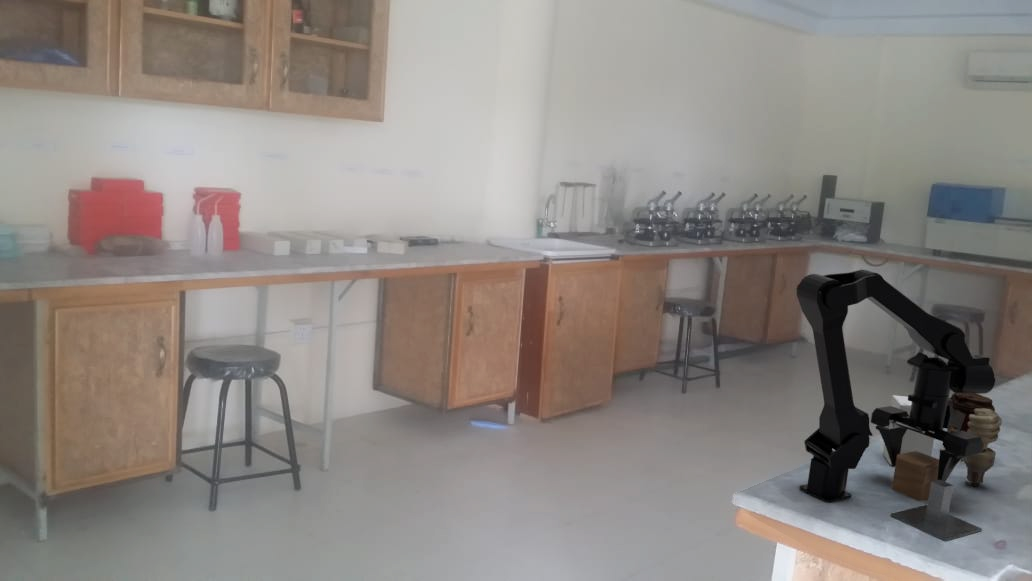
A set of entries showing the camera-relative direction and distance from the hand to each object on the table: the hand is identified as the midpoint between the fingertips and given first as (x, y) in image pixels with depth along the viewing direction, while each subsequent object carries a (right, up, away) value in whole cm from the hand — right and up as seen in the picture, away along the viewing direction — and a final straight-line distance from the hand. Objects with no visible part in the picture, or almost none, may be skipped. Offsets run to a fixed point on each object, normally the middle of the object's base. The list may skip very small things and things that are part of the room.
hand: (917, 475), depth 160 cm
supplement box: (+5, -1, +17) cm, 17 cm away
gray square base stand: (-3, -5, -12) cm, 14 cm away
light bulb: (+14, -3, +7) cm, 16 cm away
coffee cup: (+20, -1, +23) cm, 31 cm away
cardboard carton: (0, -3, +1) cm, 3 cm away
